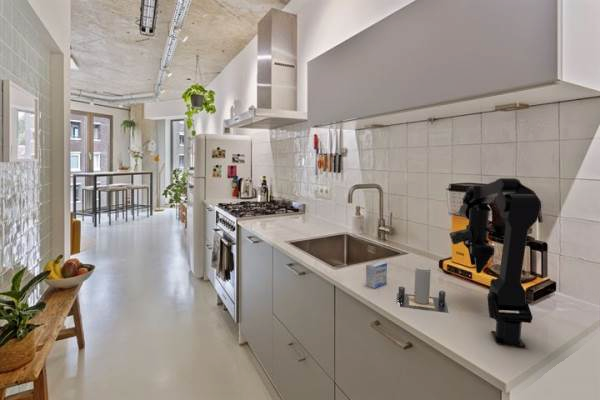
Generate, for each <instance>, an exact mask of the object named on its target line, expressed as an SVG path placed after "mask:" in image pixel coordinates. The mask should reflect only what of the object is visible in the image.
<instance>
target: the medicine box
mask: <svg viewBox="0 0 600 400" xmlns="http://www.w3.org/2000/svg"><path fill="white" fill-rule="evenodd" d="M387 280H388V263H387V262H384V261H381V260H377V261H374V262H371V263H368V264H366V265H365V286H366V287H369V288H372V289H378V288H381V287H382V286H384V285H387Z"/></svg>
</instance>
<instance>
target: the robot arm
mask: <svg viewBox="0 0 600 400" xmlns="http://www.w3.org/2000/svg"><path fill="white" fill-rule="evenodd" d="M494 201H495V203H496V205H497V207H498V209H499V216H500V218H501V220H502V221H503V223H504V225H505V228H504V238H503V244H502V252H501V259H500V266H499V275H498V277H497V278H492V279H491V280H490V285H489V290H488V294H487V297H486V299H487V307H488V308H487V309H488V314H489V318H490V319H494V320H495V322H496V323H495V330H491V335H492V337H493V339H494V341H495V343H496V344H498V345H503V346H509V347H515V348H516V347H517V348H522V349H525V348H526V344H525V343H524V342H523V340H522V336H521V335H522V324H523V323H527V324H532V322H533V315H532V314H533V313H532V311H531V309H530V305H529V303H528V300H527V292H526V290H525V288H524V286H523V285H522V283H521V281H522V280H521V279H522V275H523V274H522V273H523V267H524V259H525V252H526V251H525V250H526V245H527V238H528V232H529V230H530V228H532V226H533V225H535V223H536V222H537V221H538V218H539V215H540V211H541V209H542V201H541V199H540V198H539V197H538V195H537V194H536V193H535V191H534V190H532V189H531V188H529V187H527V186H526V185H525V184H522V182H521V181H520V179H518V178H513V177H511V178H508V177H504V178H503V177H501V178H500V177H499V178H498V179H496V180H495V181H492V182H489V183H486V184H484V185H470V186H469V187H468V188H467V189H466V191H465V194H464V196H463V197H462V205H461V206H460V207H459V214H460V216H462V217H463V218H464V219H466V220H468V224H466V227H465V228H464V229H460V230H455V231H452V232H449V238H450V239H451V240H450V241H451V242H452V244H453V245H457V244H459V243H463V245H464V246H465V247H466V248H467V249H468V251H467V252H468V255H469V261H470V264H471V266H474V265H475V271H476V274H481V273H482V271H483V270H484V268H485V266H487V263H488V262H489V261H490V259H491V258H493V256H494V255H495V248H493V246H492V245H490V243H489V242H490V241H489V239H488V234H489V233H488V232H490V229H491V228H490V227H489V219H490V215H489V214H490V212H492V210H491V209H492V208H491V207H490V206H489V205H490V204H491V203H493V202H494ZM505 311H506V312H505Z"/></svg>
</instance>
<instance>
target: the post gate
mask: <svg viewBox="0 0 600 400" xmlns="http://www.w3.org/2000/svg"><path fill="white" fill-rule="evenodd" d="M405 290H406V287H404V286H398V293H396V303H397V302H399V303H400V307H399V308H405V309H414V310H423V311H427V312H429V311H430V312H438V313H445V314H449V313H450V312H449V309H448V306H447V303H446V291H443V290H440V291H438V297H436V296H435V297H434V296H429V302H428V303H427V304H419V303H417V302H416V301H415V300H414V295H415V294H410V293H409V294H407V293H405V292H406V291H405ZM397 300H399V301H397ZM401 303H402V304H401Z"/></svg>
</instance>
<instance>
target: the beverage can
mask: <svg viewBox="0 0 600 400" xmlns="http://www.w3.org/2000/svg"><path fill="white" fill-rule="evenodd" d="M414 271H415V273H414V294H413V295H414V300H415V301H416V302H417V303H419V304H427V303H428V302H429V297H430V292H431V291H430V288H431V267H428V266H426V265H417V266H415V270H414Z"/></svg>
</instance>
